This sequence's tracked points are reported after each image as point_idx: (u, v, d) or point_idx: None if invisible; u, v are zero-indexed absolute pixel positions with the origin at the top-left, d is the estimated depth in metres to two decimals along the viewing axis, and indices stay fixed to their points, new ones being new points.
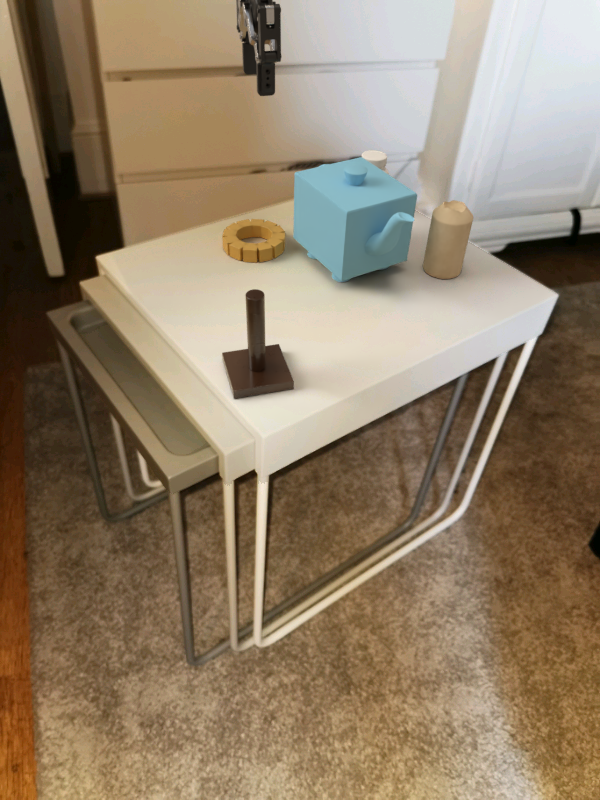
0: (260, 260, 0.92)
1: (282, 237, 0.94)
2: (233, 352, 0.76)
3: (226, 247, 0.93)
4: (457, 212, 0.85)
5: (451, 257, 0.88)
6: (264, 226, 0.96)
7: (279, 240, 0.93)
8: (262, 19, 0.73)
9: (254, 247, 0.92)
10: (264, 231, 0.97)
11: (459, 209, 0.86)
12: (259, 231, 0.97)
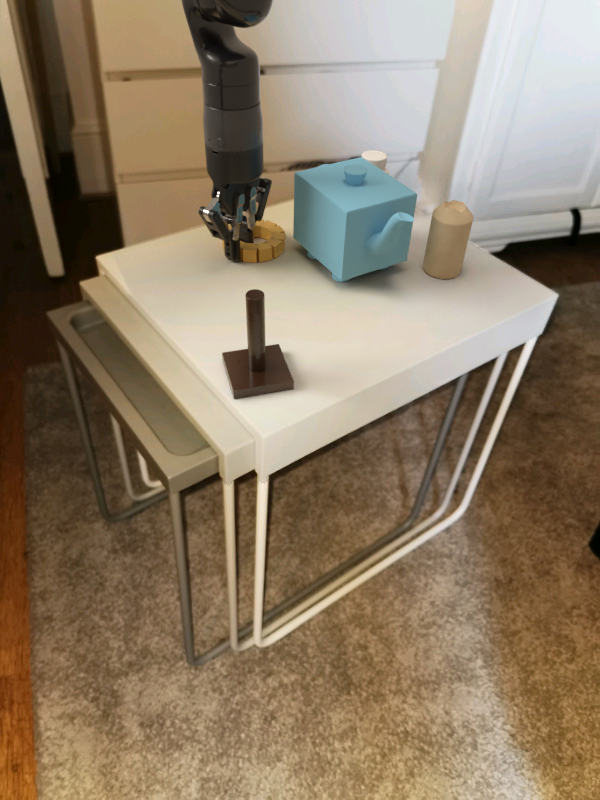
0: (260, 260, 0.92)
1: (282, 237, 0.94)
2: (233, 352, 0.76)
3: None
4: (457, 212, 0.85)
5: (451, 257, 0.88)
6: (264, 226, 0.96)
7: (279, 240, 0.93)
8: (203, 218, 0.85)
9: (253, 247, 0.92)
10: (264, 231, 0.97)
11: (459, 209, 0.86)
12: (259, 231, 0.97)
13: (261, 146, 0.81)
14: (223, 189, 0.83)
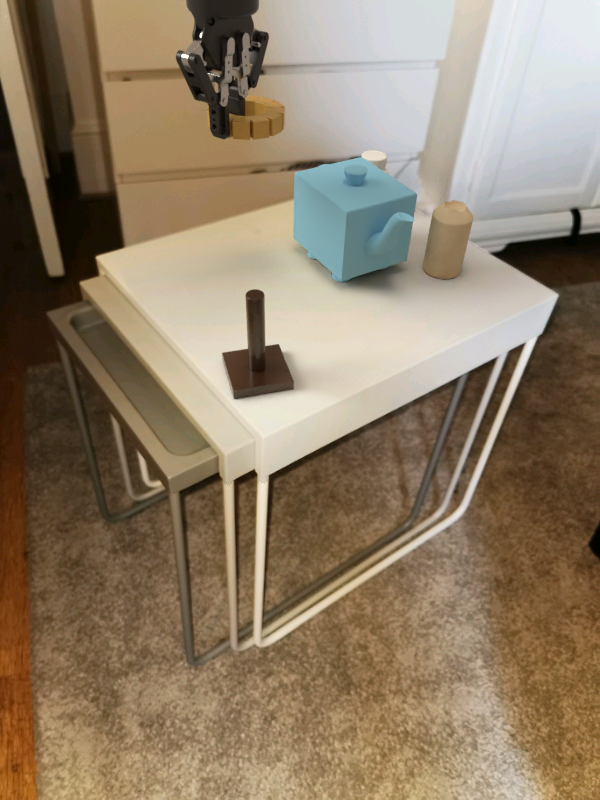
0: (254, 137, 0.74)
1: (281, 111, 0.76)
2: (233, 352, 0.76)
3: None
4: (457, 212, 0.85)
5: (451, 257, 0.88)
6: (259, 101, 0.78)
7: (278, 113, 0.75)
8: (181, 67, 0.66)
9: (246, 119, 0.73)
10: (259, 108, 0.78)
11: (459, 209, 0.86)
12: (252, 109, 0.79)
13: None
14: (207, 26, 0.65)
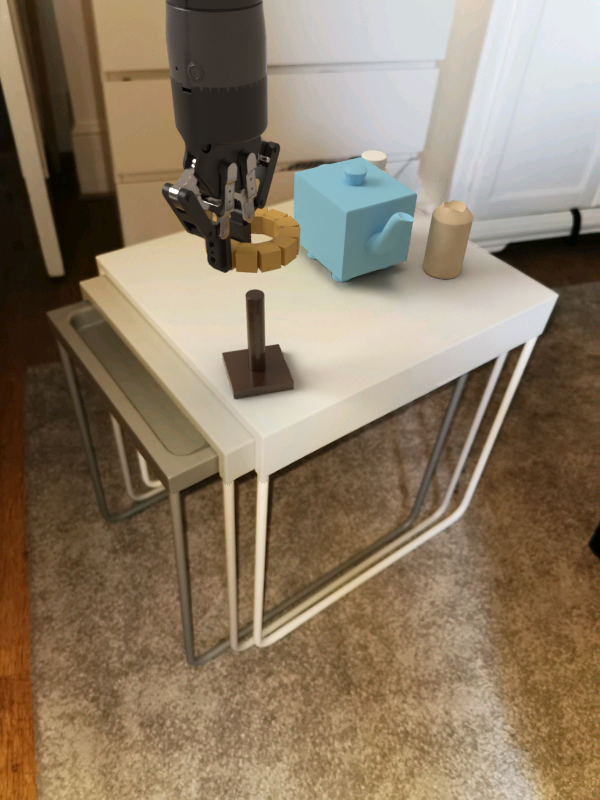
0: (262, 269, 0.60)
1: (296, 234, 0.61)
2: (233, 352, 0.76)
3: None
4: (457, 212, 0.85)
5: (451, 257, 0.88)
6: (268, 217, 0.64)
7: (292, 238, 0.61)
8: (169, 203, 0.52)
9: (252, 249, 0.59)
10: (268, 225, 0.64)
11: (459, 209, 0.86)
12: (260, 225, 0.64)
13: (264, 81, 0.49)
14: (202, 154, 0.50)
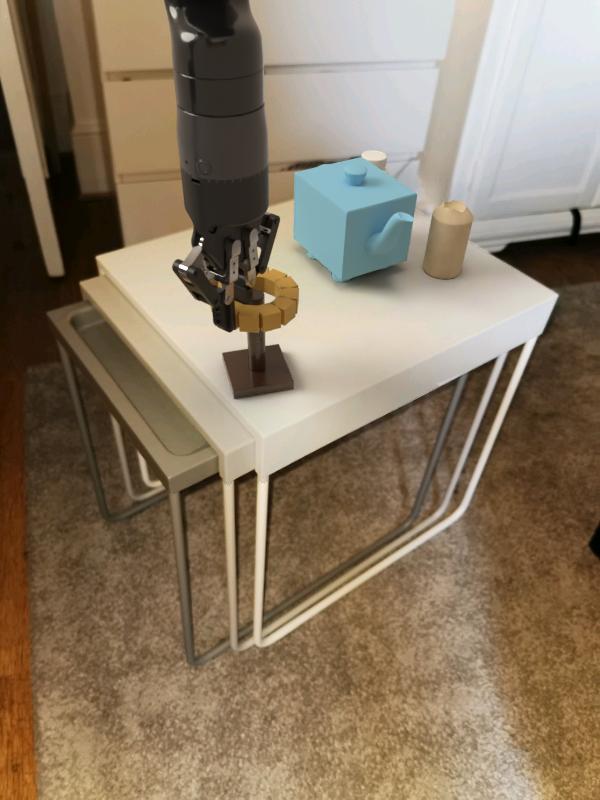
0: (264, 329, 0.65)
1: (295, 295, 0.66)
2: (233, 352, 0.76)
3: None
4: (457, 212, 0.85)
5: (451, 257, 0.88)
6: (269, 278, 0.68)
7: (291, 299, 0.66)
8: (179, 276, 0.57)
9: (254, 311, 0.64)
10: (269, 285, 0.69)
11: (459, 209, 0.86)
12: (262, 284, 0.69)
13: (266, 171, 0.54)
14: (208, 235, 0.55)
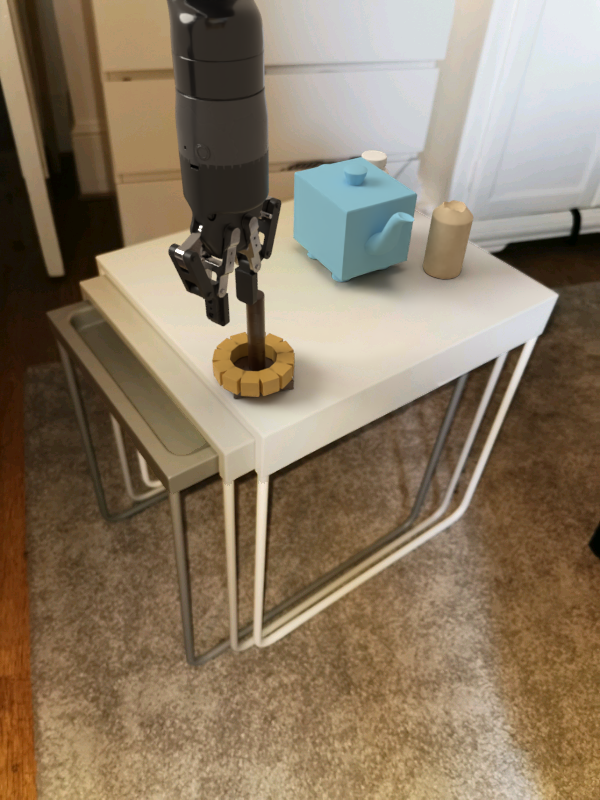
0: (263, 393, 0.70)
1: (291, 360, 0.72)
2: None
3: (218, 376, 0.71)
4: (457, 212, 0.85)
5: (451, 257, 0.88)
6: (266, 343, 0.74)
7: (288, 364, 0.71)
8: (174, 262, 0.56)
9: (255, 378, 0.69)
10: (266, 349, 0.74)
11: (459, 209, 0.86)
12: None
13: (266, 157, 0.53)
14: (207, 222, 0.54)
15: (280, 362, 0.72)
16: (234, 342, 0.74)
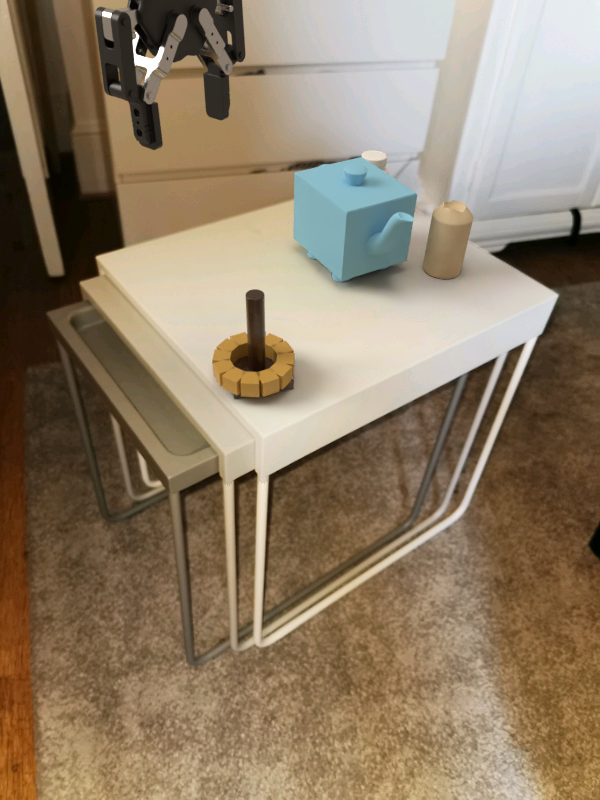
0: (263, 394, 0.70)
1: (291, 360, 0.72)
2: None
3: (218, 377, 0.71)
4: (457, 212, 0.85)
5: (451, 257, 0.88)
6: (266, 343, 0.74)
7: (288, 365, 0.71)
8: (99, 30, 0.46)
9: (255, 378, 0.69)
10: (266, 349, 0.74)
11: (459, 209, 0.86)
12: None
13: None
14: None
15: (280, 362, 0.72)
16: (234, 342, 0.74)
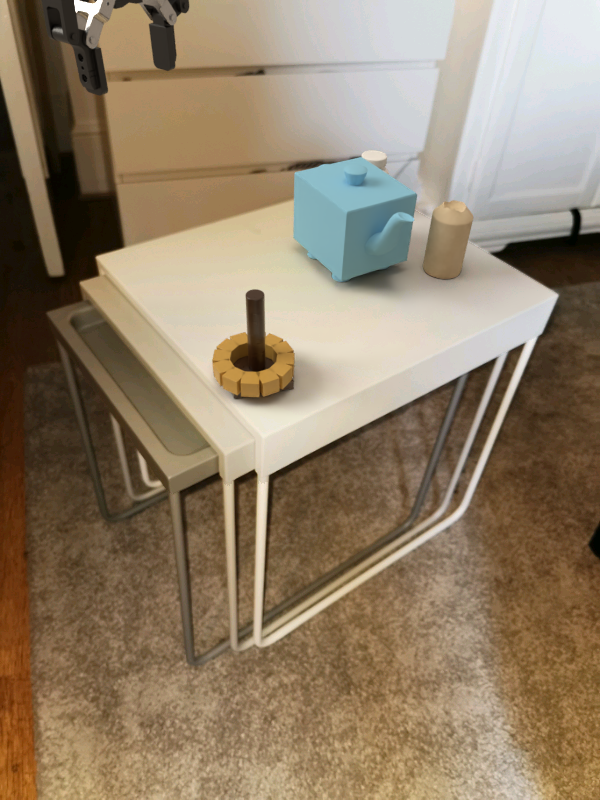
0: (263, 394, 0.70)
1: (291, 360, 0.72)
2: None
3: (218, 377, 0.71)
4: (457, 212, 0.85)
5: (451, 257, 0.88)
6: (266, 343, 0.74)
7: (288, 365, 0.71)
8: None
9: (255, 378, 0.69)
10: (266, 349, 0.74)
11: (459, 209, 0.86)
12: None
13: None
14: None
15: (280, 362, 0.72)
16: (234, 342, 0.74)
